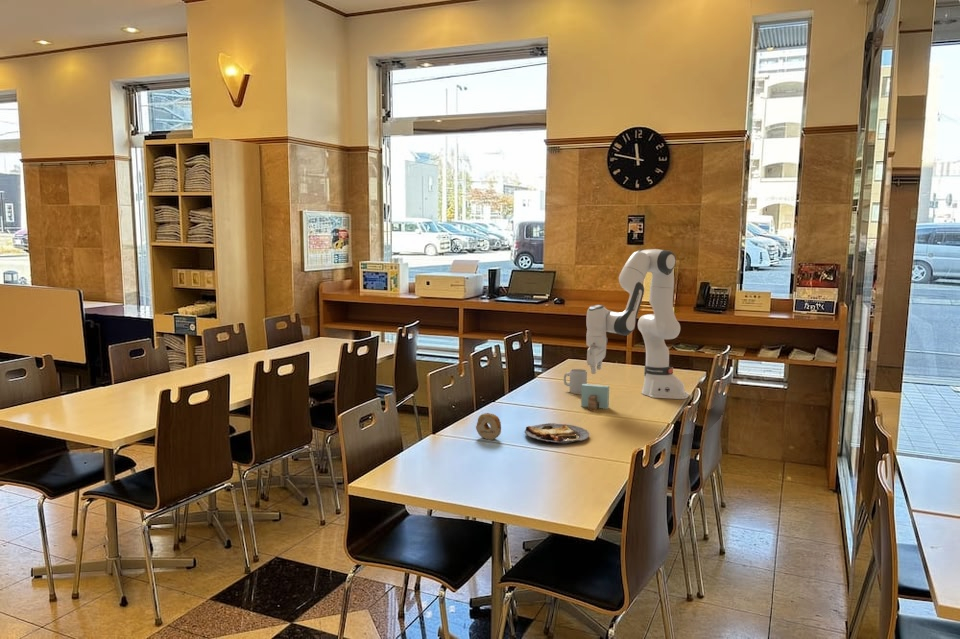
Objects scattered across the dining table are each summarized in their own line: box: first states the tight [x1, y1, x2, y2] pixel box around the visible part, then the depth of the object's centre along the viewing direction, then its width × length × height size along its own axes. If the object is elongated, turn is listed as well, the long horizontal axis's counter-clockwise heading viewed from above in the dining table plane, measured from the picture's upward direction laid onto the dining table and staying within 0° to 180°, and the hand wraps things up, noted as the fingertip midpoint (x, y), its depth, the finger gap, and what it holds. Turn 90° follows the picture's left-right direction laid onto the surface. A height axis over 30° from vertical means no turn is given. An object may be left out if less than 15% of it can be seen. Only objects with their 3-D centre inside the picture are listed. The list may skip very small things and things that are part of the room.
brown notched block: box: [587, 395, 599, 411], centre depth 315 cm, size 12×3×6 cm, turn 156°
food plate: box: [524, 422, 590, 445], centre depth 270 cm, size 25×23×4 cm
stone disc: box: [475, 412, 502, 441], centre depth 267 cm, size 10×4×10 cm, turn 56°
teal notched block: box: [580, 383, 610, 410], centre depth 315 cm, size 12×3×10 cm, turn 66°
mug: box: [563, 368, 588, 395], centre depth 345 cm, size 12×8×11 cm
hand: (596, 371), depth 313 cm, fingers open, 8 cm apart
